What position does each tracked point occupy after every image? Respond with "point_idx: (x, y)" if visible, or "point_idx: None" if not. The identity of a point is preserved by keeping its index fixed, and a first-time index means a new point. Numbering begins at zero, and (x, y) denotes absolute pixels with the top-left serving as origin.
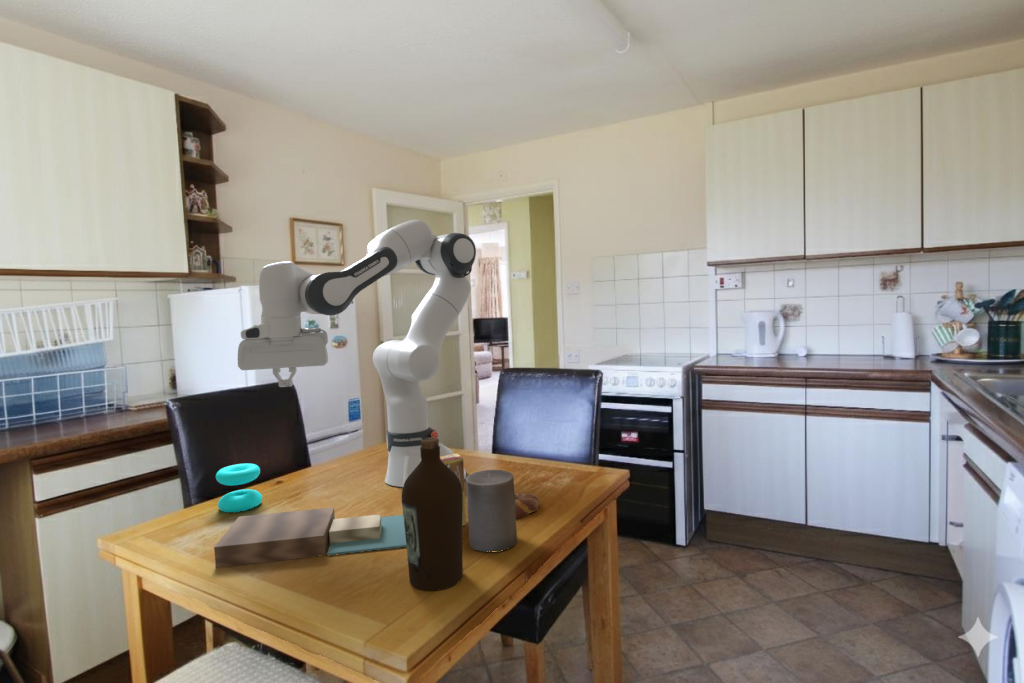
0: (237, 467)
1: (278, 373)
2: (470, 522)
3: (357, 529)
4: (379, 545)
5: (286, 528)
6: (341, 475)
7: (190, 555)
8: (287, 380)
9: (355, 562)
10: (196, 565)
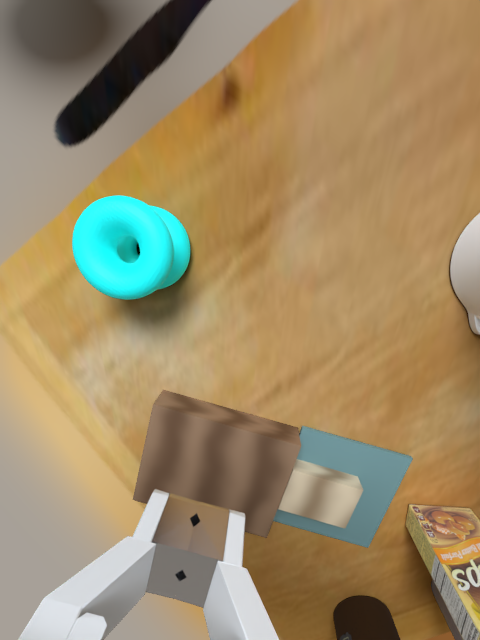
0: (114, 224)
1: (94, 608)
2: (451, 624)
3: (315, 519)
4: (333, 531)
5: (222, 490)
6: (381, 121)
7: (107, 427)
8: (199, 595)
9: (295, 546)
10: (120, 460)
